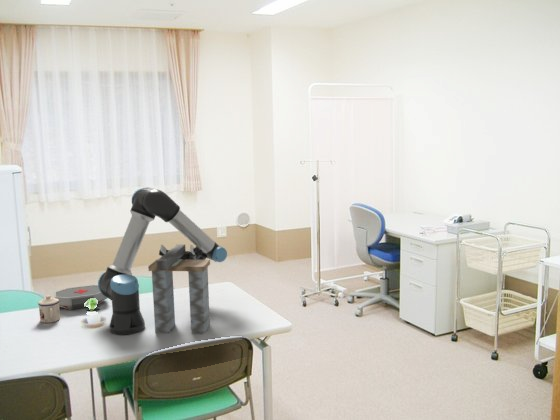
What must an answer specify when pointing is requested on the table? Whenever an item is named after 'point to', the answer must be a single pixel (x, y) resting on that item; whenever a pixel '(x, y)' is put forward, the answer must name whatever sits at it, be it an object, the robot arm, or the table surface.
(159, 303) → the bench
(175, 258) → the dark grey bar
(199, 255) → the robot arm
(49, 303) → the teacup with lid
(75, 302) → the first aid kit
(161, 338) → the table surface
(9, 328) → the table surface
